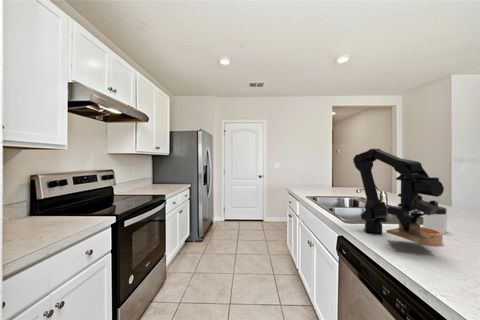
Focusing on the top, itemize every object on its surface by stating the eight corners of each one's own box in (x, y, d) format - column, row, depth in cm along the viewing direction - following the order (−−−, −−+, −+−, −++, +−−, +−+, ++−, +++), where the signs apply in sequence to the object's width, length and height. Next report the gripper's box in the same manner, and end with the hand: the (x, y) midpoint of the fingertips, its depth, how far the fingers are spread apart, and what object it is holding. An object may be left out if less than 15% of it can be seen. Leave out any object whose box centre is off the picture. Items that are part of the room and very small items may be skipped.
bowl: (417, 245, 89) (417, 233, 89) (407, 236, 99) (407, 225, 99) (447, 248, 86) (447, 236, 86) (434, 239, 96) (434, 228, 96)
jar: (443, 235, 100) (443, 210, 100) (421, 230, 107) (421, 206, 107) (448, 231, 105) (448, 207, 105) (427, 227, 112) (427, 204, 112)
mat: (396, 252, 82) (397, 251, 82) (386, 240, 94) (386, 240, 94) (435, 257, 79) (435, 256, 79) (419, 244, 90) (419, 243, 90)
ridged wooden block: (416, 242, 79) (416, 228, 79) (386, 232, 89) (386, 220, 89) (433, 238, 83) (434, 225, 83) (403, 229, 93) (403, 217, 93)
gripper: (418, 197, 75) (417, 241, 75) (448, 193, 82) (447, 234, 82) (386, 192, 85) (385, 231, 85) (415, 189, 92) (415, 225, 92)
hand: (409, 230), depth 86 cm, fingers closed on ridged wooden block, 3 cm apart
